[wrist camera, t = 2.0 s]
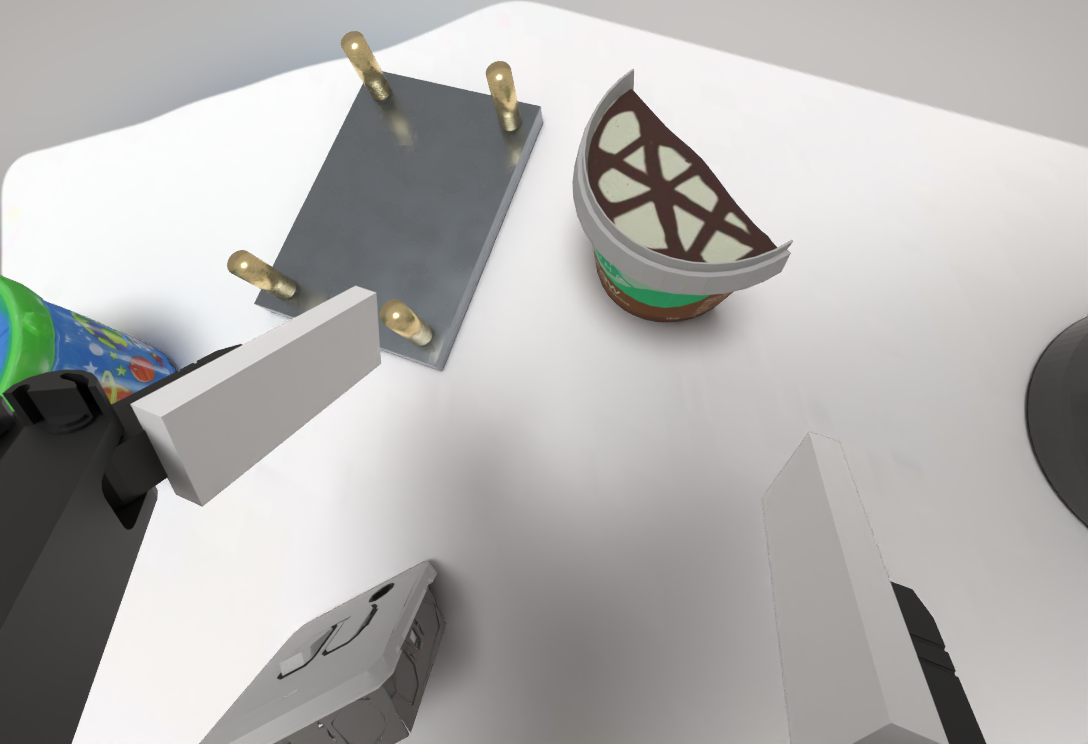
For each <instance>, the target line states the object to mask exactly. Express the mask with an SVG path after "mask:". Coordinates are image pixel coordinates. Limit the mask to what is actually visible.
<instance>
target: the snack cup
mask: <svg viewBox="0 0 1088 744" xmlns="http://www.w3.org/2000/svg"><path fill="white" fill-rule="evenodd" d="M65 369H67V370H84V371H87V372H91V373H93V374H94V375H95V376H96V377H97V379H98V380H99V382H100V384H101V386H102V388H103V390H104V391H105V393H106V395H107V397H108V399H109V401H110V403H111V404H113V403H115V402H117V401H119V400H121V399H123V398H125V397H127V396H129V395H131V394H133V393H135V392H137V391H139V390H141V389H143V388H145V387H147V386H149V385H151V384H153V383H155V382H157V381H159V380H161V379H163V378H164V377H166V376H168V375H170V374H172V373H174V372H176V371H175V368H174V367H173V366H171V365H170V363H169V361H168V359H167V357H166V356H165V355H164V354H163V353H161V352H160V351H158V350H157V349H155V348H153V347H151V346H149V345H147V344H145V343H143V342H141V341H140V340H137V339H135V338H133V337H131V336H128V335H126V334H124V333H122V332H119V331H117V330H114V329H112V328H110V327H108V326H105V325H103V324H101V323H99V322H96V321H94V320H92V319H89V318H87V317H85V316H82V315H80V314H78V313H75V312H73V311H70V310H67V309H64V308H62V307H60V306H57V305H54V304H51V303H49V302H46V301H44V300H43V299H42V298H41V297H40V296H38V295H37V294H36V293H34V292H33V291H32V290H30V289H29V288H27V287H26V286H24V285H23V284H20V283H18V282H16V281H13V280H11V279H8V278H6V277H3V276H2V275H0V396H2V397H3V399H4V400H5V401H6V403H7V404H8V406H9V407H10V408H11V410H12V411H14V410H13V408H12V407H11V405H10V404H9V403H8V401H7V400H6V398H5V397H4V395H3V394H2V393H3V392H5V391H6V390H7V389H8V388H10V387H11V386H12V385H14V384H16V383H18V382H20V381H22V380H24V379H27V378H29V377H32V376H36V375H39V374H42V373H46V372H51V371H58V370H65Z"/></svg>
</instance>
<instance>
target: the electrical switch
mask: <svg viewBox="0 0 1088 744" xmlns="http://www.w3.org/2000/svg"><path fill="white" fill-rule="evenodd" d="M436 575H437V573H436V571H435V570H434V568H433V567H432V565H431V564H430V562H428V561H426V562H422V563H420V564H418V565H416V566H414V567H412V568H411V569H409V570H407V571H405V572H403V573H401V574H399V575H397V576H395V577H394V578H392V579H390V580H388V581H386V582H384V583H382V584H380V585H378V586H376V587H375V588H373V589H371V590H369V591H367V592H365V593H363V594H361V595H359V596H358V597H356V598H354V599H352V600H350V601H348V602H346V603H344V604H342V605H341V606H339V607H337V608H335V609H333V610H331V611H329V612H327V613H325V614H323V615H322V616H320V617H318V618H316V619H314V620H312V621H310V622H308V623H307V624H305V625H303V626H302V627H301V628H300V629H298V630H297V631H296V632H295V633H293V635H292V636H291V637H290V638H289V639H288V640H287V641H286V643H285V644H284V645H283V646H282V647H281V648H280V649H279V651H278V652H277V653H276V654H275V655H274V656H273V658H272V659H271V660H270V661H269V662H268V663H267V665H266V666H265V667H264V668H263V669H262V671H261V672H260V673H259V674H258V675H257V676H256V678H255V679H254V680H253V681H252V682H251V683H250V685H249V686H248V687H247V688H246V689H245V691H244V692H243V693H242V694H241V695H240V696H239V698H238V699H237V700H236V701H235V702H234V703H233V705H232V706H231V707H230V708H229V709H228V710H227V712H226V713H225V714H224V715H223V716H222V718H221V719H220V720H219V721H218V722H217V723H216V725H215V726H214V727H213V728H212V729H211V730H210V732H209V733H208V734H207V735H206V736H205V738H204V739H203V740H202V741H201V742H200V743H199V744H395V743H397V742H398V741H400V740H402V739H404V738H406V737H408V736H409V732H408V731H407V729H406V727H405V725H406V726H407V728H408V729H409V731H410V732H411V730H412V727H413V724H414V721H415V718H416V715H417V712H418V709H419V706H420V702H421V699H422V696H423V693H424V690H425V687H426V684H427V681H428V678H429V675H430V671H431V668H432V665H433V662H434V659H435V656H436V653H437V650H438V647H439V644H440V640H441V637H442V634H443V631H444V628H445V625H446V622H445V620H444V618H443V617H442V615H441V613H440V611H439V609H438V608H437V605H436V602H435V599H434V596H433V594H432V593H431V591H430V589H429V587H428V585H429V584H431V583H432V582H433V580H434V578H435V577H436ZM419 627H420V628H419ZM422 634H424V636H423V635H422ZM418 641H419V642H418ZM417 642H418V648H417V647H416V646H415V643H417ZM411 703H412V704H411ZM396 711H397V712H396ZM398 714H399V715H398ZM399 716H400V717H401V719H402V720H403V722H404V723H405V725H404V724H403V722H402V720H401V719H400V717H399ZM319 724H323V726H321V727H320V728H319V727H318V725H319ZM381 737H382V738H381ZM333 738H334V739H335V740H336V741H335V740H334V739H333ZM380 739H381V740H380Z"/></svg>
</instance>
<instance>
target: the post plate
mask: <svg viewBox="0 0 1088 744" xmlns="http://www.w3.org/2000/svg"><path fill="white" fill-rule="evenodd" d="M341 46H342V48H343V50H344V52H345V53H346V55H347V57H348V58H349V60H350V62H351V63H352V65H353V67H354V68H355V70H356V72H357V73H358V75H359V77H360V78H361V80H362V82H363V85H362V87H361V89H360V91H359V93H358V95H357V97H356V99H355V101H354V103H353V105H352V107H351V109H350V111H349V113H348V115H347V117H346V119H345V121H344V123H343V125H342V127H341V129H340V131H339V133H338V135H337V137H336V139H335V141H334V143H333V145H332V147H331V149H330V151H329V153H328V155H327V157H326V160H325V162H324V164H323V166H322V168H321V170H320V172H319V174H318V176H317V178H316V180H315V182H314V184H313V186H312V188H311V190H310V192H309V194H308V196H307V198H306V200H305V202H304V204H303V206H302V208H301V210H300V212H299V214H298V216H297V218H296V220H295V222H294V224H293V226H292V228H291V230H290V232H289V234H288V236H287V238H286V240H285V242H284V244H283V246H282V248H281V251H280V253H279V255H278V257H277V259H276V261H275V263H274V265H273V267H272V266H270V265H268V264H267V263H265V262H263V261H262V260H260V259H259V258H257V257H255V256H254V255H252V254H251V253H249V252H247V251H245V250H240V251H237V252H235V253H233V254H232V255H231V256H230V258H229V260H228V263H227V267H228V270H229V271H230V272H231V273H232V274H234V275H236V276H238V277H239V278H241V279H243V280H245V281H247V282H249V283H251V284H253V285H255V286H256V287H258V288H260V289H261V291H260V293H259V295H258V297H257V299H256V301H255V303H254V304H256V305H258V306H260V307H262V308H264V309H266V310H268V311H271V312H274V313H276V314H279V315H282V316H285V317H288V318H291V319H293V318H295V317H297V316H299V315H301V314H303V313H305V312H307V311H308V310H310V309H312V308H314V307H316V306H318V305H320V304H322V303H324V302H326V301H327V300H329V299H331V298H333V297H335V296H337V295H339V294H341V293H343V292H345V291H346V290H348V289H350V288H352V287H354V286H358V287H361V288H364V289H367V290H370V291H373V292H376V295H377V310H378V326H379V341H380V350H383V351H386V352H388V353H391V354H394V355H397V356H400V357H403V358H406V359H409V360H411V361H414V362H417V363H420V364H423V365H426V366H429V367H432V368H434V369H437V370H440V371H442V370H443V367H444V365H445V362H446V360H447V357H448V355H449V353H450V350H451V348H452V345H453V343H454V340H455V338H456V335H457V333H458V330H459V328H460V325H461V323H462V321H463V318H464V316H465V313H466V311H467V308H468V306H469V303H470V301H471V298H472V296H473V293H474V291H475V289H476V286H477V284H478V281H479V279H480V276H481V274H482V271H483V269H484V266H485V264H486V261H487V259H488V257H489V254H490V252H491V249H492V247H493V244H494V242H495V239H496V237H497V234H498V232H499V229H500V227H501V225H502V222H503V220H504V217H505V215H506V212H507V210H508V207H509V205H510V202H511V200H512V197H513V195H514V193H515V190H516V188H517V185H518V183H519V180H520V178H521V175H522V173H523V170H524V168H525V165H526V163H527V161H528V158H529V156H530V153H531V151H532V148H533V146H534V143H535V141H536V138H537V136H538V133H539V131H540V129H541V126H542V124H543V120H542V113H541V106H536V105H532V104H527V103H523V102H518V101H517V96H516V91H515V87H514V82H513V77H512V72H511V68H510V66H509V64H507V63H506V62H503V61H497V62H494V63H492V64H491V65H489V67H488V68H487V70H486V77H487V81H488V85H489V88H490V92H491V95H486V94H482V93H477V92H473V91H468V90H464V89H459V88H455V87H450V86H446V85H441V84H437V83H432V82H428V81H423V80H419V79H414V78H410V77H405V76H401V75H396V74H392V73H387V72H383V71H382V70H381V68H380V67H379V65H378V63H377V61H376V59H375V57H374V55H373V53H372V52H371V50H370V48H369V46H368V44H367V42H366V41H365V39H364V37H363V35H362V34H361V33H360V32H357V31H353V32H349V33H347V34H346V35H345V36H344V37H343V38H342V40H341Z"/></svg>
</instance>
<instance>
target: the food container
mask: <svg viewBox="0 0 1088 744" xmlns="http://www.w3.org/2000/svg"><path fill="white" fill-rule="evenodd" d="M633 86H634V69H632V70H631V71H629V72H628V73H627V74H625V75H624V76H623V77H621V78H620V79H619V80H618V81H617V82H616V83H615V84H614V85H613V86H612V87H611V88H610V89H609V90H608V91H607V93H606V94H605V95H604V97H603V98H602V100H601V101H600V102H599V104H598V105H597V107H596V109H595V111H594V112H593V114H592V116H591V118H590V120H589V122H588V124H587V126H586V128H585V130H584V133H583V136H582V139H581V143H580V146H579V150H578V154H577V158H576V162H575V167H574V175H573V198H574V203H575V207H576V212H577V216H578V218H579V220H580V223H581V225H582V227H583V230H584V232H585V233H586V235H587V236H588V238H589V239H590V241H591V243H592V244H593V246H594V253H595V259H596V266H597V272H598V275H599V277H600V280H601V283H602V285H603V287H604V289H605V290H606V292H607V294H608V295H609V296H610V297H611V298H612V300H613V301H614V302H615V303H616V304H618V305H619V306H620V307H621V308H623V309H624V310H626V311H627V312H629V313H631V314H633V315H635V316H637V317H640V318H643V319H646V320H651V321H656V322H677V321H683V320H687V319H692V318H694V317H697V316H699V315H702V314H704V313H706V312H707V311H709V310H711V309H712V308H714V307H715V306H717V305H718V304H719V303H720V302H722V301H723V300H724V299H725V298H727V297H728V296H729V295H730V294H732V293H733V292H734V291H738V290H742V289H746V288H748V287H751V286H753V285H756V284H759V283H761V282H764V281H766V280H768V279H769V278H771V277H773V276H775V275H777V274H778V273H780V272H781V271H782V269H783V267H784V265H785V263H786V261H787V259H788V257H789V255H790V252H789V251H788V250H787V249H788V247H789V246H790V245H791V243H792V242H793V240H791V241H789V242H787V243H785V244H783V245H782V246H780V247H778V248H777V247H776V246H775V245H774V243H773V242H772V241H771V240H770V238H769V237H768V236H767V235H766V234H765V233H763V232H762V231H761V230H760V229H759V228H758V227H757V226H756V225H755V224H754V223H753V222H752V221H751V220H750V219H749V217H748V216H747V215H746V214H745V213H744V212H743V211H742V210H741V208H740V207H739V206H738V205H737V204H736V202H735V201H734V200H733V199H732V197H731V196H730V195H729V194H728V192H727V191H726V189H725V188H724V187H723V185H722V184H721V183H720V181H719V180H718V179H717V177H716V176H715V175H714V173H713V172H712V171H711V170H710V168H709V167H708V166H707V165H706V163H705V162H704V161H703V159H702V158H701V157H699V156H698V155H697V154H696V153H695V152H694V151H693V150H692V149H691V148H690V147H689V146H688V145H686V144H685V143H684V142H683V141H682V140H680V139H679V138H678V137H677V136H676V135H675V134H674V133H672V132H671V131H670V130H669V129H668V128H667V127H666V126H665V125H664V124H663V123H662V122H661V121H660V119H659V118H658V117H657V116H656V115H655V114H654V113H653V112H652V111H651V110H650V109H649V107H648V106H647V105H646V104H645V103H644V102H643V101H642V100H641V99H640V97H639V96H638V95H637V94H636V93H635V92H634V91H633Z"/></svg>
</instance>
